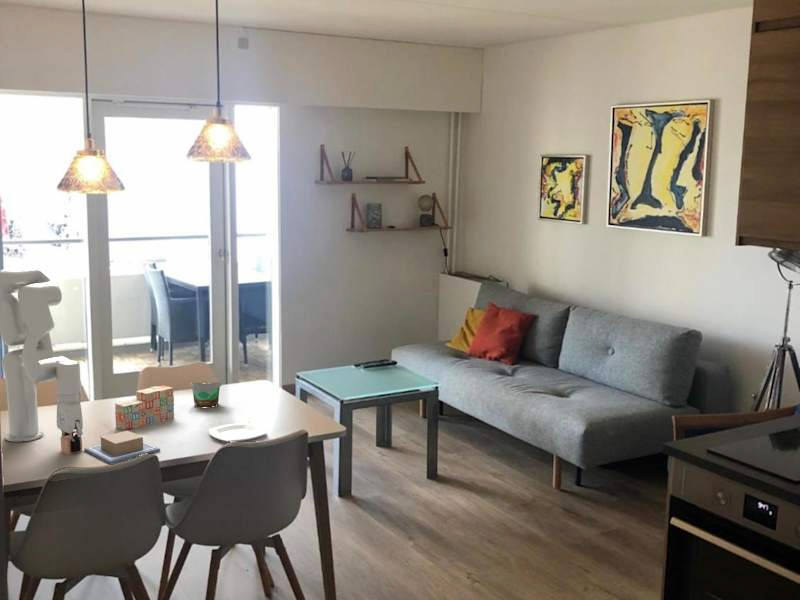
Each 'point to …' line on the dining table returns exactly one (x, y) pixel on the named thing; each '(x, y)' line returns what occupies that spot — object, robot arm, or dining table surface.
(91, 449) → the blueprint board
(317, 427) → the dining table surface
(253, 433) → the plate
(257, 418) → the dining table surface
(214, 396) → the food container
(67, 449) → the terracotta cube
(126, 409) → the stack of blocks
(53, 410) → the dining table surface
